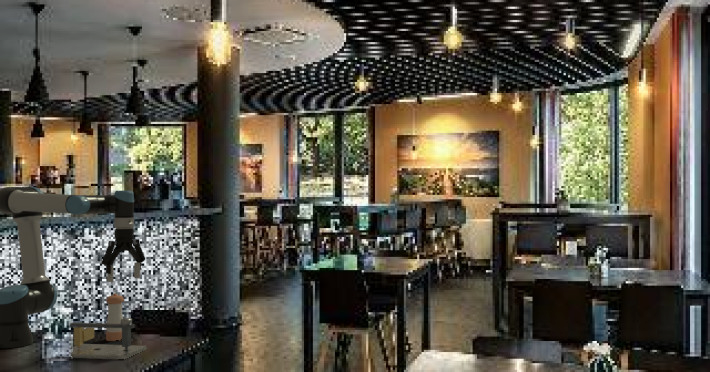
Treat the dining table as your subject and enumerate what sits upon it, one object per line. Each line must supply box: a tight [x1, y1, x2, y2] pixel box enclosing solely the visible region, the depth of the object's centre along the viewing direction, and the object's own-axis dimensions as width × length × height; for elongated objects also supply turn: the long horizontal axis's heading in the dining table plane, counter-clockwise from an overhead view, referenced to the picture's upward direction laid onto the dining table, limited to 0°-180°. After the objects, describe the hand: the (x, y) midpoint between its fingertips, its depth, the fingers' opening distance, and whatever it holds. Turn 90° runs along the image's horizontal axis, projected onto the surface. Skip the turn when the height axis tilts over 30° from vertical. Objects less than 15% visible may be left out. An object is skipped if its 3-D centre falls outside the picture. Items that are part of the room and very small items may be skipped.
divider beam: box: [69, 317, 136, 349], centre depth 256 cm, size 26×4×11 cm, turn 79°
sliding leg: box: [73, 327, 95, 348], centre depth 261 cm, size 3×9×8 cm, turn 169°
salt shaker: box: [105, 292, 125, 342], centre depth 281 cm, size 7×7×19 cm
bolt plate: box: [71, 343, 148, 361], centre depth 256 cm, size 28×16×2 cm, turn 79°
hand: (123, 280), depth 275 cm, fingers open, 13 cm apart
